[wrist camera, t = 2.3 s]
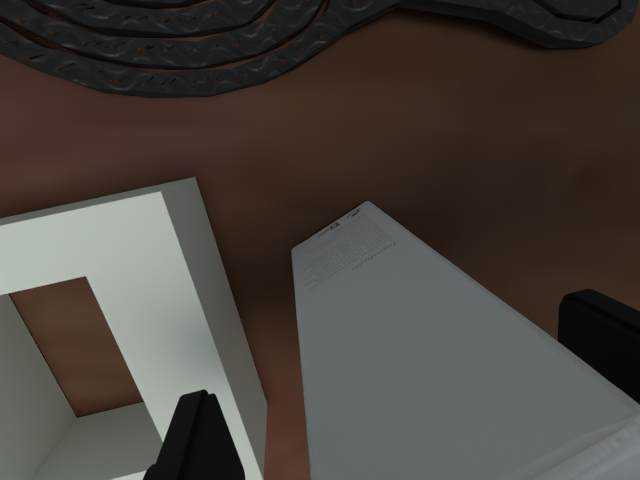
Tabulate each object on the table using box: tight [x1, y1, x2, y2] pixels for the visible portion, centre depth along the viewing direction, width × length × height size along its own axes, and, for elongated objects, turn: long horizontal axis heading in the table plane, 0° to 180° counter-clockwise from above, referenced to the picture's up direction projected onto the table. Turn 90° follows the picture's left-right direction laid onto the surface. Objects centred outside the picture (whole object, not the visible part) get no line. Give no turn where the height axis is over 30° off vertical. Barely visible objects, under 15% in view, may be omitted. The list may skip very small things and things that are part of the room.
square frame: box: [0, 177, 267, 480], centre depth 13 cm, size 12×12×4 cm
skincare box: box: [291, 201, 640, 480], centre depth 10 cm, size 6×4×12 cm
